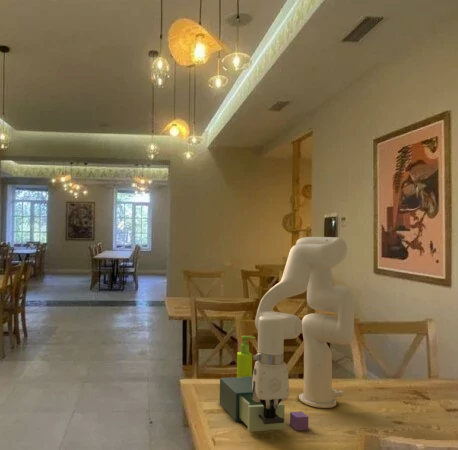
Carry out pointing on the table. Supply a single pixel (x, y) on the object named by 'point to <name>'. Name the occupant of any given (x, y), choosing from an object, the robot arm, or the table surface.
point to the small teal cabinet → (234, 393)
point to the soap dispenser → (244, 359)
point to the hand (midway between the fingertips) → (269, 420)
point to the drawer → (258, 415)
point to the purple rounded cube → (299, 421)
